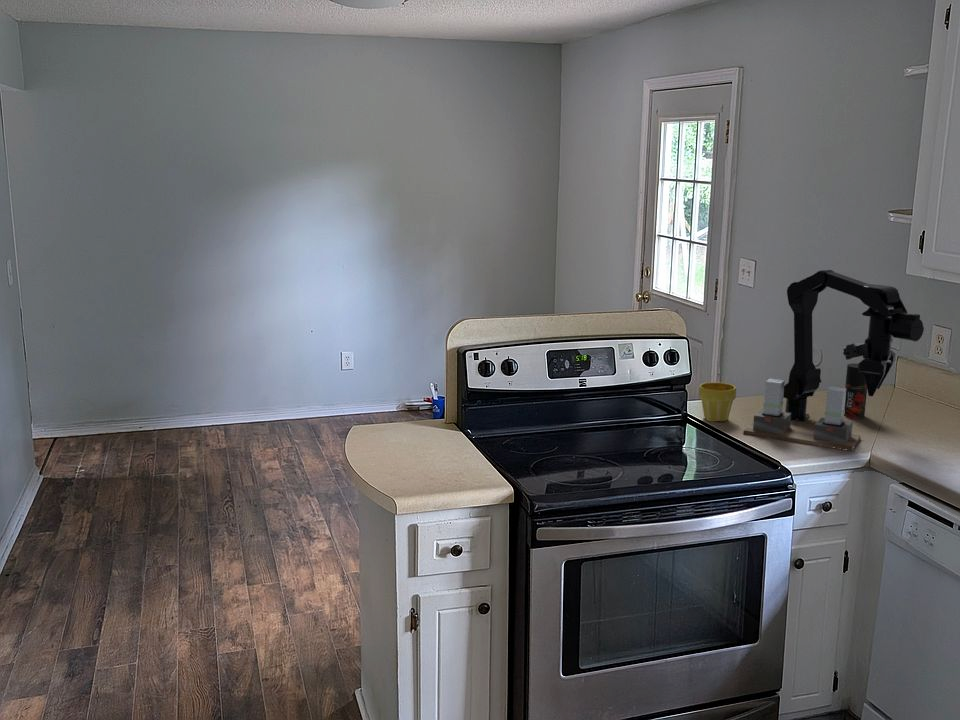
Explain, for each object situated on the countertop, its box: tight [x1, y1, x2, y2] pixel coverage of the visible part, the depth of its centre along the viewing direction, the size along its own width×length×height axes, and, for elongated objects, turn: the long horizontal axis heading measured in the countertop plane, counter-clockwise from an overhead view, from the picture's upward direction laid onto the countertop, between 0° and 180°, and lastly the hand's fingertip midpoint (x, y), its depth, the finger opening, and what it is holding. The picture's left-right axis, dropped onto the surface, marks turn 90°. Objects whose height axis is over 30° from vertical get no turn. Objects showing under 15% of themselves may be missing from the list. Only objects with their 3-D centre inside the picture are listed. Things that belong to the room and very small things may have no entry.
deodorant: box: [844, 363, 868, 419], centre depth 269 cm, size 6×6×15 cm
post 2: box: [824, 386, 846, 425], centre depth 244 cm, size 4×4×9 cm
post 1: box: [763, 378, 786, 416], centre depth 253 cm, size 4×4×9 cm
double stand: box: [742, 408, 861, 451], centre depth 250 cm, size 12×28×5 cm, turn 58°
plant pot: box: [698, 381, 737, 422], centre depth 266 cm, size 10×10×10 cm
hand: (873, 392), depth 246 cm, fingers open, 9 cm apart
